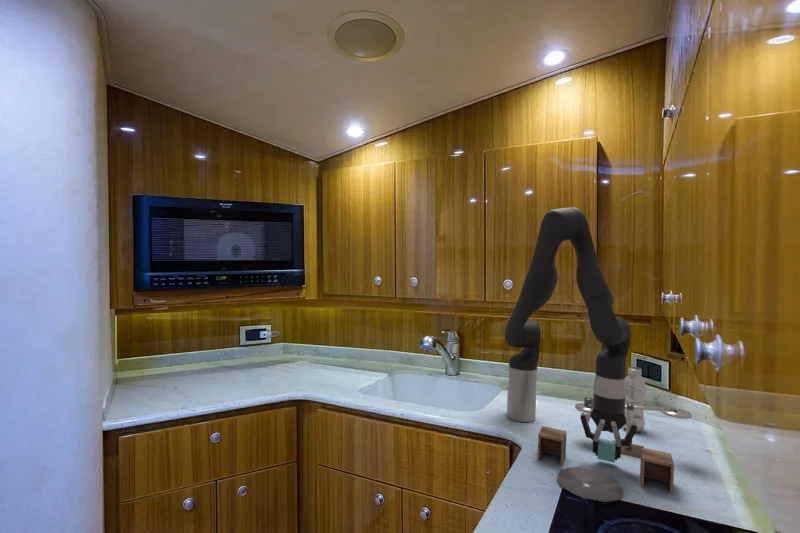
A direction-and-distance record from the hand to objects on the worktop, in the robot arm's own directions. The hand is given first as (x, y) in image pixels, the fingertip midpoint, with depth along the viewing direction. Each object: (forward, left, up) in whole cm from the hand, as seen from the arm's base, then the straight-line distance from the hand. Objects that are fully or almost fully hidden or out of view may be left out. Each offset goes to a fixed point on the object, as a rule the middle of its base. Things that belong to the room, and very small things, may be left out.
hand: (606, 456), depth 110 cm
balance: (-6, +12, -2) cm, 14 cm away
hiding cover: (-6, -13, -2) cm, 14 cm away
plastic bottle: (-19, +25, -2) cm, 31 cm away
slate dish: (+8, -11, -2) cm, 14 cm away
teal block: (0, 0, 0) cm, 0 cm away
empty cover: (+10, +6, -2) cm, 12 cm away
